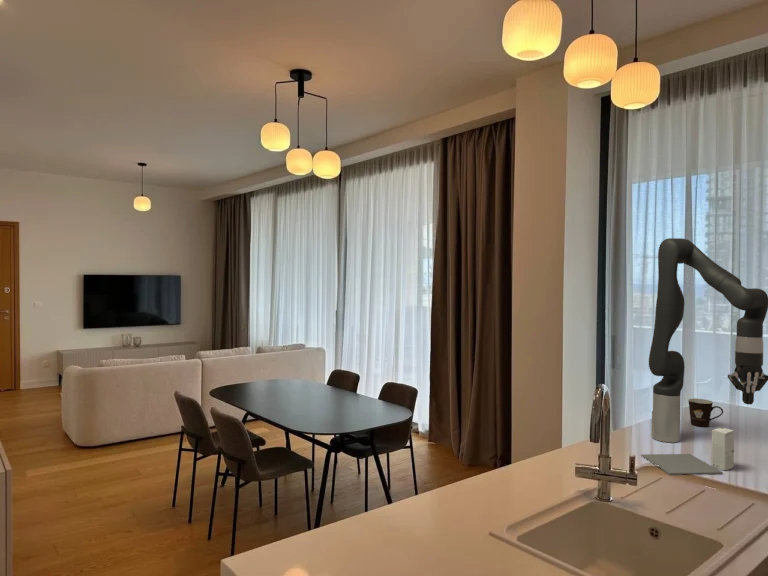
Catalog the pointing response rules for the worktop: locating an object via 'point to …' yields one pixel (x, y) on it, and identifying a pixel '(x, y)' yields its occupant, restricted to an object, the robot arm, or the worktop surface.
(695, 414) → the coffee mug
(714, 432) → the skincare box
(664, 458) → the mat
